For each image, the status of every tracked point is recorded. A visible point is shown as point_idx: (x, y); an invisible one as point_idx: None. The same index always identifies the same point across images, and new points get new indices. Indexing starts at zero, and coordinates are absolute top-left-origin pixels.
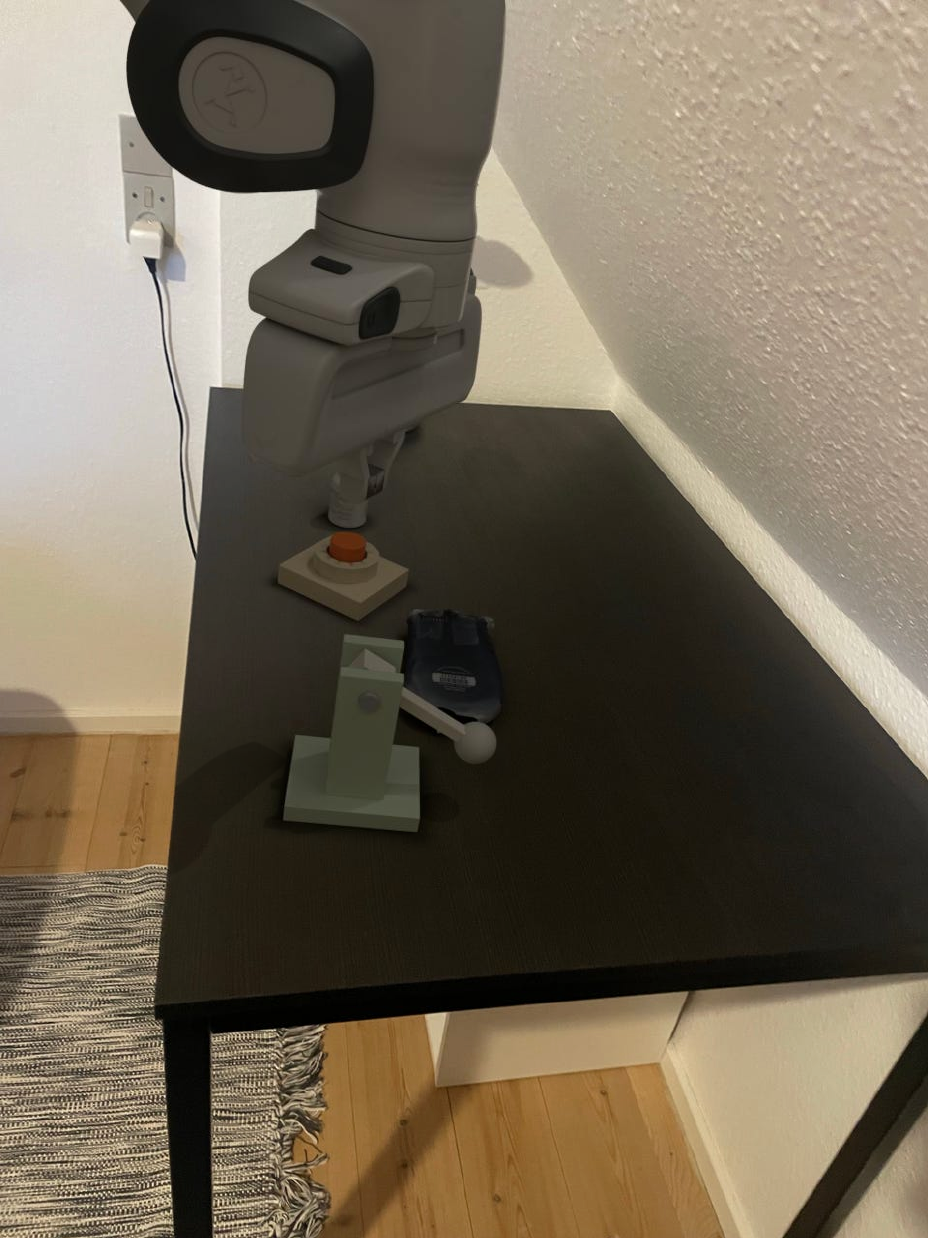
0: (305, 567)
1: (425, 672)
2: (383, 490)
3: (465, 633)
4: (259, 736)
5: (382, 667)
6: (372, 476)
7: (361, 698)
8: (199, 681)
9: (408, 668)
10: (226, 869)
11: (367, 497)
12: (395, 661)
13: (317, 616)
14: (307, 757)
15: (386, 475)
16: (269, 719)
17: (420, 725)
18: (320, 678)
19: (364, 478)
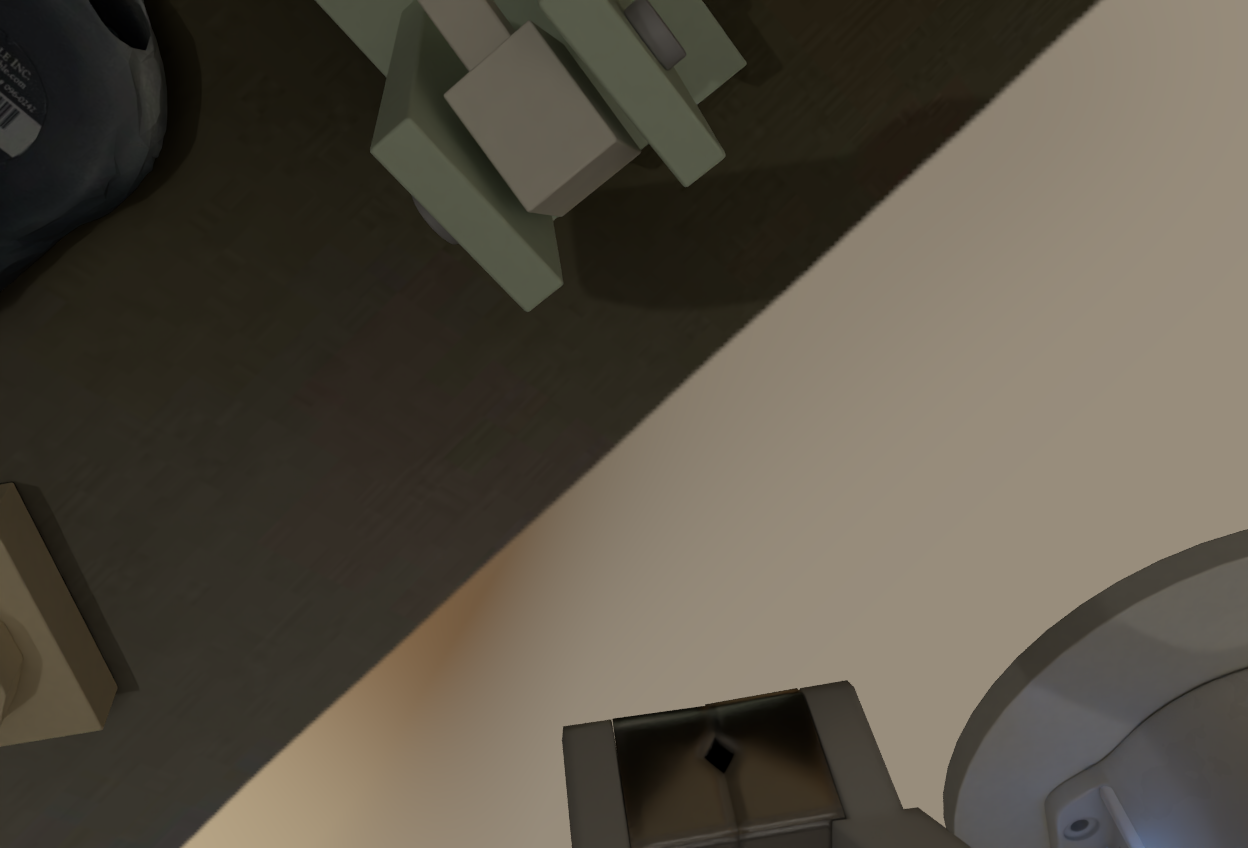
0: (39, 695)
1: (39, 173)
2: (589, 723)
3: None
4: (563, 301)
5: (520, 111)
6: (793, 825)
7: (684, 52)
8: (534, 511)
9: (61, 230)
10: (932, 29)
11: (787, 701)
12: (429, 114)
13: (110, 549)
14: None
15: (599, 812)
16: (500, 330)
17: (161, 53)
18: (280, 369)
19: (913, 821)
